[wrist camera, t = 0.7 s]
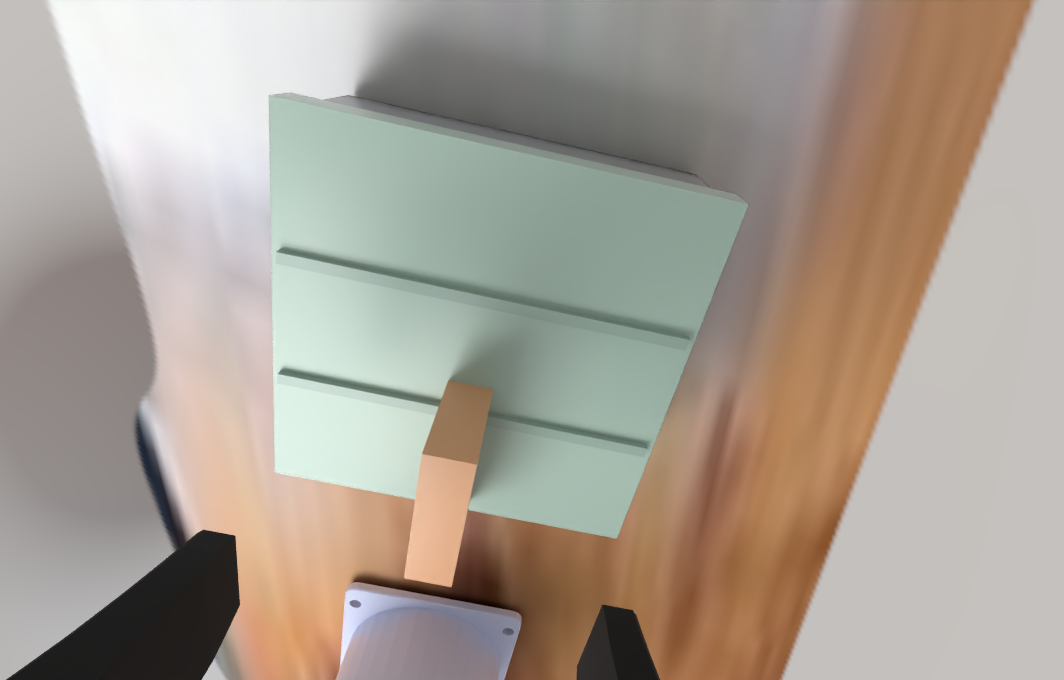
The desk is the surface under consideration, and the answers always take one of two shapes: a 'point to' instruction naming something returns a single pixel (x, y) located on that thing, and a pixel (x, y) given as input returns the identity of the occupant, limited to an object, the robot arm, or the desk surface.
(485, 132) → the tub
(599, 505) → the lid
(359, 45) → the desk surface
